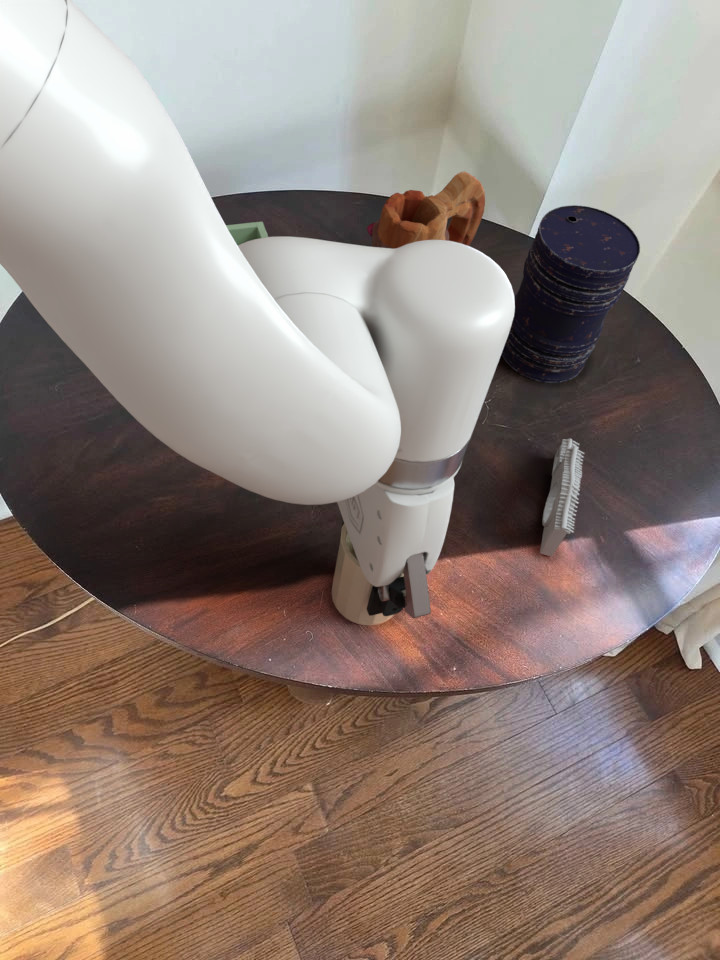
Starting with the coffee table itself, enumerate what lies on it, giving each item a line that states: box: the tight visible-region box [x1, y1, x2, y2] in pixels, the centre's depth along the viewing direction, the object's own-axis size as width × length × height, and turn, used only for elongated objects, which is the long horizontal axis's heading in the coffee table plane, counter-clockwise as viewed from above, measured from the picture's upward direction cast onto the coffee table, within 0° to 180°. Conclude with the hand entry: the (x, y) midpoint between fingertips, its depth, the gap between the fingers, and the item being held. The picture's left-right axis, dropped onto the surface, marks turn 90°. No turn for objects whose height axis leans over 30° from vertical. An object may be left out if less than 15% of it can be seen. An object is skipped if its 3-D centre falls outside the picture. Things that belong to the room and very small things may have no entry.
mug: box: [366, 171, 486, 249], centre depth 80 cm, size 15×8×15 cm, turn 131°
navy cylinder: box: [501, 204, 641, 384], centre depth 79 cm, size 10×10×15 cm
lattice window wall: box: [539, 437, 586, 558], centre depth 71 cm, size 12×2×6 cm, turn 164°
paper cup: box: [331, 523, 404, 626], centre depth 62 cm, size 6×6×9 cm
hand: (372, 570), depth 62 cm, fingers closed on paper cup, 6 cm apart
